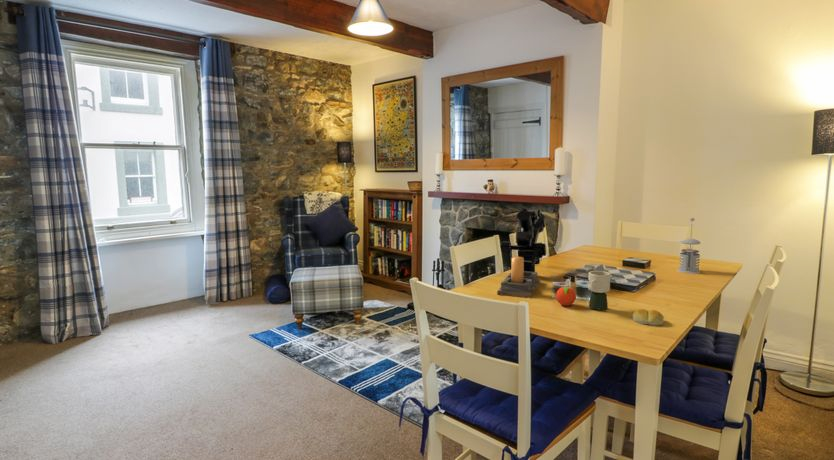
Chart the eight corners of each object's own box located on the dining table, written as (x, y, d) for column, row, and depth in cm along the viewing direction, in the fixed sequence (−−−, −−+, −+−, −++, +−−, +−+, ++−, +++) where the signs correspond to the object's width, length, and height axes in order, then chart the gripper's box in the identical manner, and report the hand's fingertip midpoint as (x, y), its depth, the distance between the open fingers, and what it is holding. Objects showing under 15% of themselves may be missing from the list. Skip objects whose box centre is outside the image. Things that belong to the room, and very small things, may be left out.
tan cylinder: (515, 285, 191) (515, 256, 189) (525, 287, 187) (526, 257, 185) (508, 288, 187) (509, 257, 185) (519, 290, 184) (519, 259, 182)
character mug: (595, 303, 170) (596, 268, 168) (614, 307, 165) (616, 271, 163) (581, 310, 163) (582, 274, 161) (601, 314, 158) (602, 277, 156)
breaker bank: (510, 279, 207) (510, 267, 206) (540, 282, 202) (540, 269, 201) (497, 294, 184) (497, 281, 183) (530, 297, 179) (530, 283, 178)
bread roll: (634, 316, 156) (634, 304, 156) (664, 320, 151) (664, 308, 151) (630, 323, 149) (631, 311, 149) (661, 328, 145) (662, 315, 144)
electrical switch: (601, 290, 187) (599, 268, 186) (588, 290, 190) (586, 267, 189) (608, 285, 194) (607, 264, 193) (595, 285, 197) (594, 263, 196)
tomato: (575, 309, 163) (576, 290, 162) (555, 308, 166) (555, 288, 165) (576, 303, 171) (576, 284, 170) (556, 301, 173) (556, 283, 172)
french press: (701, 270, 217) (705, 217, 214) (700, 275, 208) (704, 220, 204) (677, 267, 223) (680, 216, 219) (675, 272, 213) (678, 218, 210)
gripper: (501, 222, 199) (495, 253, 190) (546, 224, 191) (541, 255, 183) (505, 238, 207) (499, 267, 199) (548, 239, 200) (544, 270, 191)
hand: (520, 265), depth 193 cm, fingers open, 9 cm apart
